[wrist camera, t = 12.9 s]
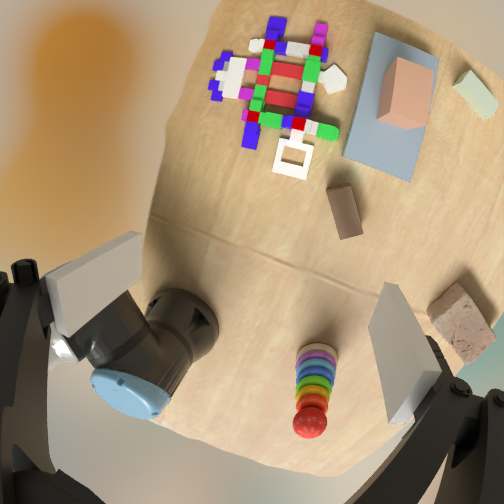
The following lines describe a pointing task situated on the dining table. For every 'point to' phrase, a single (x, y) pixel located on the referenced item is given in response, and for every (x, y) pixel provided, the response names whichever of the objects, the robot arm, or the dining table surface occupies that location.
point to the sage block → (476, 95)
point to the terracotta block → (405, 95)
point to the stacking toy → (313, 388)
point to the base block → (365, 115)
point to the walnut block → (344, 211)
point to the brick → (461, 323)
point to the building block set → (232, 79)
